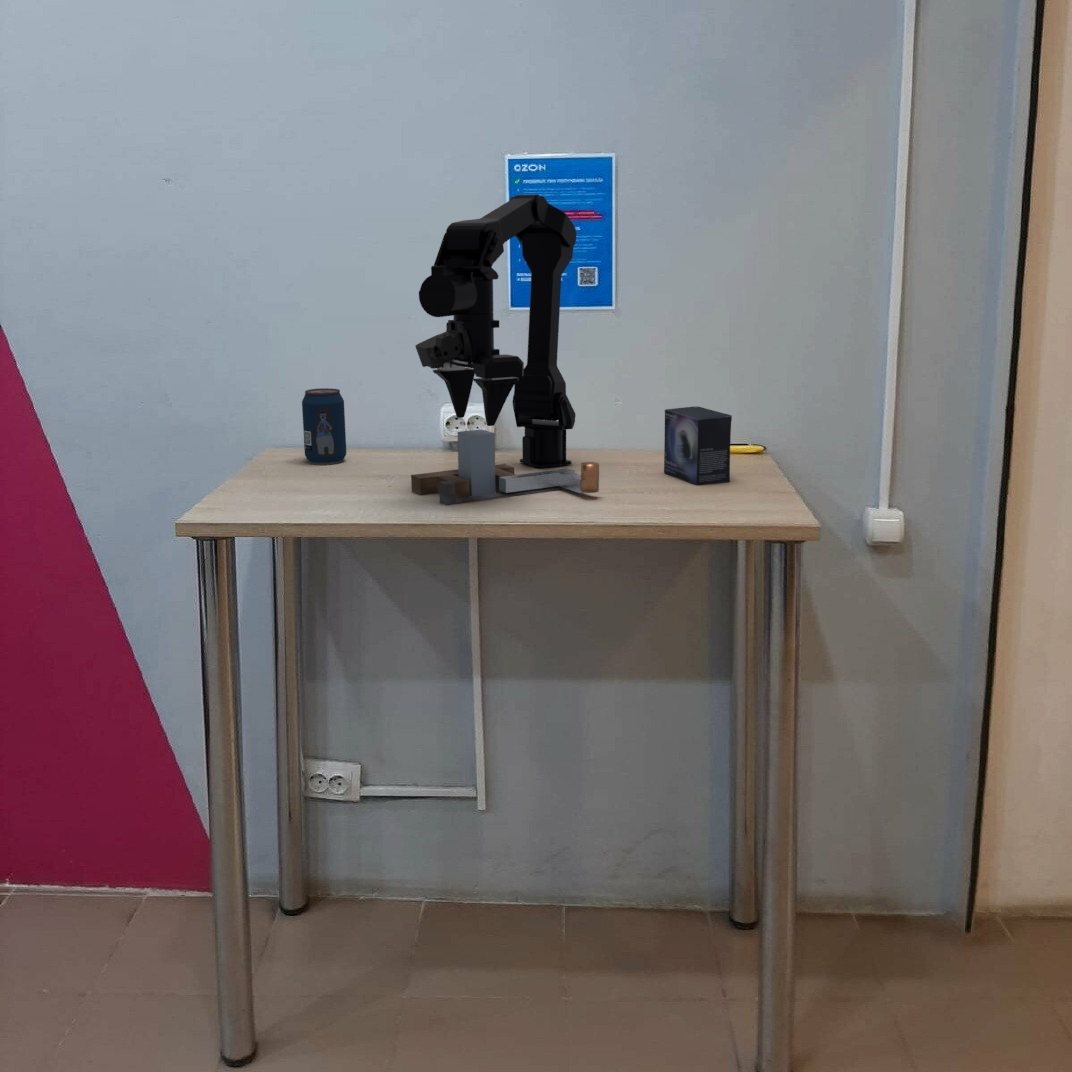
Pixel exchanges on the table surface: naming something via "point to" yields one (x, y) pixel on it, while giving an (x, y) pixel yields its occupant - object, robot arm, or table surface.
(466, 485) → the mount
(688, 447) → the small box
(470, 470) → the slate blue cuboid
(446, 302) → the robot arm
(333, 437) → the soda can
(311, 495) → the table surface
